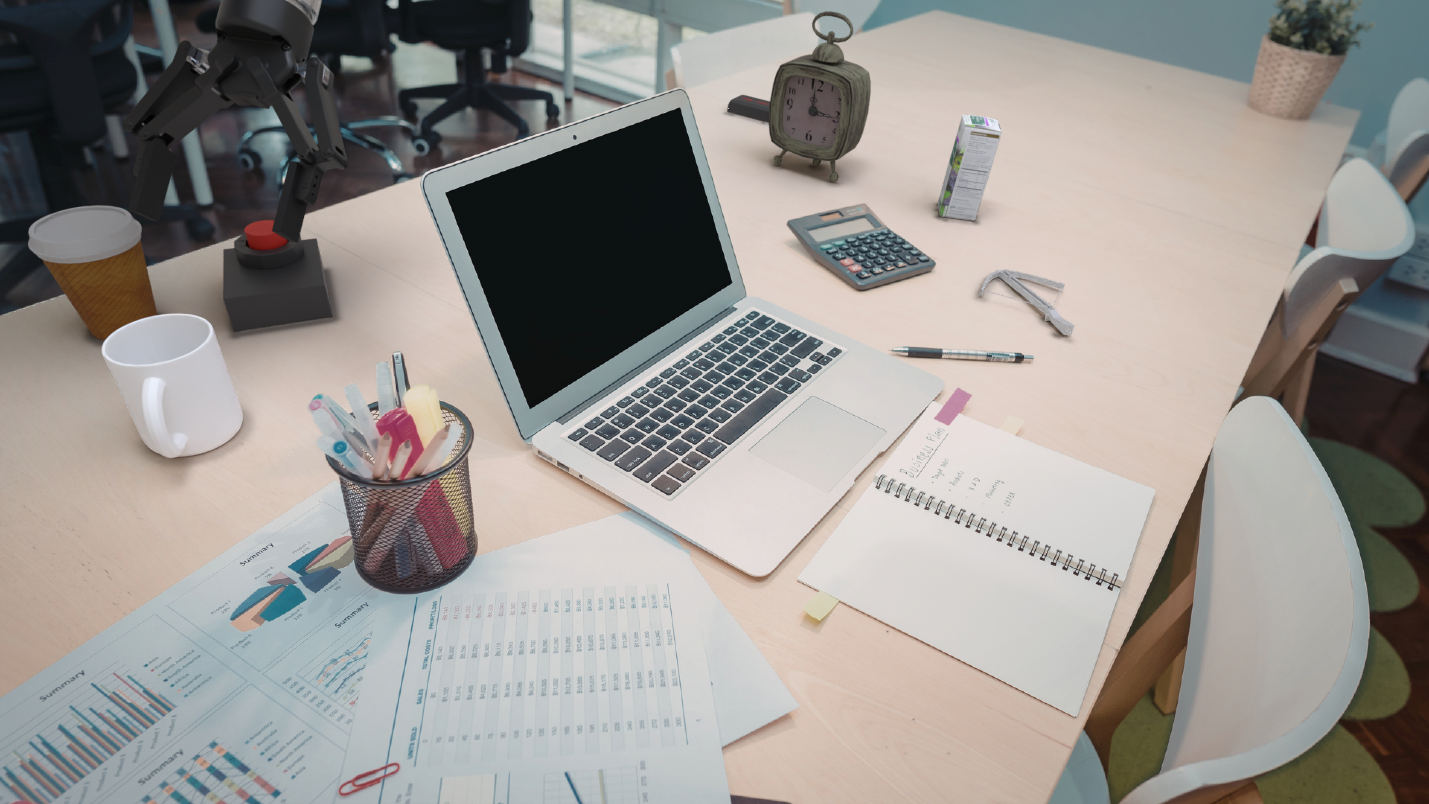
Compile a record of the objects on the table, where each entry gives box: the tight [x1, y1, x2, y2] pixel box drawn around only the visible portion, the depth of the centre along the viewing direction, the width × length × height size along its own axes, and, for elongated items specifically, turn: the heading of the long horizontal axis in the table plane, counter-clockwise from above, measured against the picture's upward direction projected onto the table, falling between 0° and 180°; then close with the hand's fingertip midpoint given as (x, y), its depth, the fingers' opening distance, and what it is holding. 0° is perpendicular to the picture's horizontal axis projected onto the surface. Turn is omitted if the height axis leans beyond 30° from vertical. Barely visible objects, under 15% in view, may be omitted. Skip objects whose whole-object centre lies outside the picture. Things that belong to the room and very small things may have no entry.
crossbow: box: [979, 268, 1075, 336], centre depth 107 cm, size 16×13×2 cm
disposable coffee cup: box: [27, 204, 159, 341], centre depth 85 cm, size 10×10×12 cm
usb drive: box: [726, 94, 770, 123], centre depth 159 cm, size 5×12×3 cm, turn 59°
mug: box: [101, 313, 244, 459], centre depth 71 cm, size 12×8×10 cm
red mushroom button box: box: [222, 233, 334, 333], centre depth 93 cm, size 12×10×6 cm
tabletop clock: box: [768, 10, 872, 183], centre depth 132 cm, size 14×9×25 cm, turn 58°
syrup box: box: [937, 114, 1003, 222], centre depth 125 cm, size 6×6×14 cm
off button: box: [244, 219, 288, 250], centre depth 93 cm, size 4×4×2 cm
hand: (213, 226), depth 72 cm, fingers open, 13 cm apart
